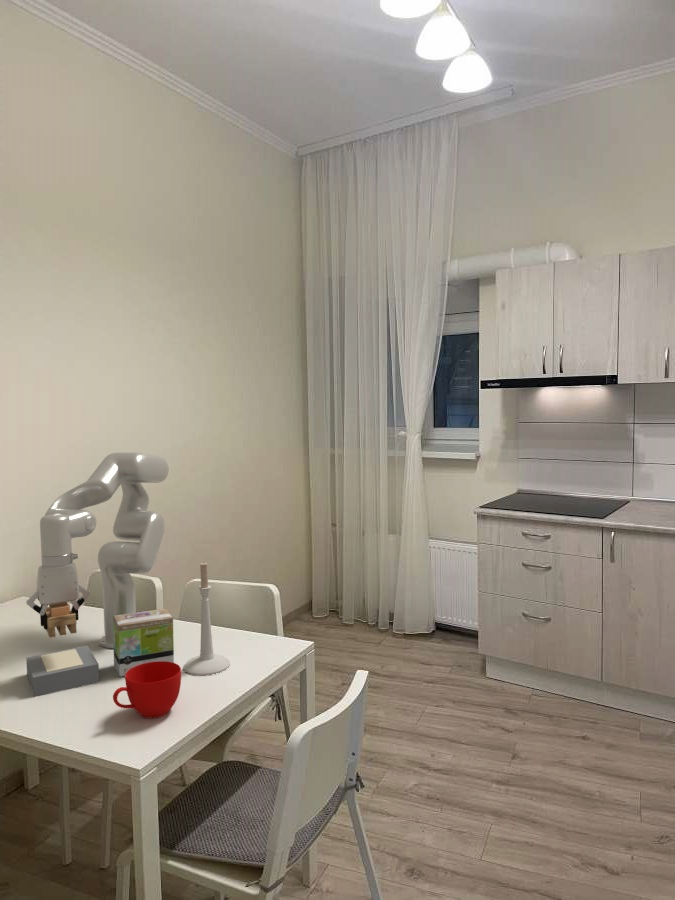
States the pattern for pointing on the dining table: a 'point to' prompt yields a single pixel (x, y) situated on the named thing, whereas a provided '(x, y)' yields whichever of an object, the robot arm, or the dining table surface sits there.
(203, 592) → the candlestick
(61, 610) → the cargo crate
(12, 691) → the dining table surface
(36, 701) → the dining table surface
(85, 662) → the dock
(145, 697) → the ceramic cup
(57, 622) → the pallet
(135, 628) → the tea box
